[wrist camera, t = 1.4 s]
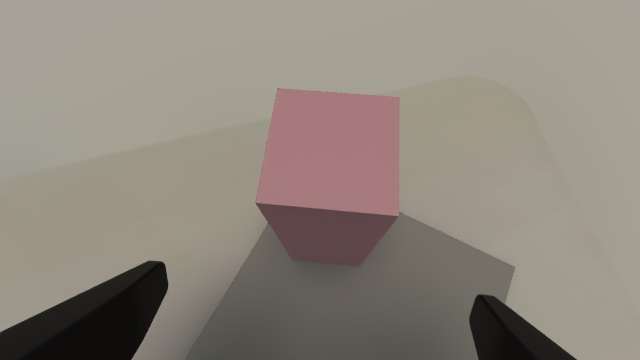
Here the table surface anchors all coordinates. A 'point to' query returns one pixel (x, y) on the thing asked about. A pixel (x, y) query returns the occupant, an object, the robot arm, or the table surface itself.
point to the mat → (356, 302)
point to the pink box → (331, 174)
